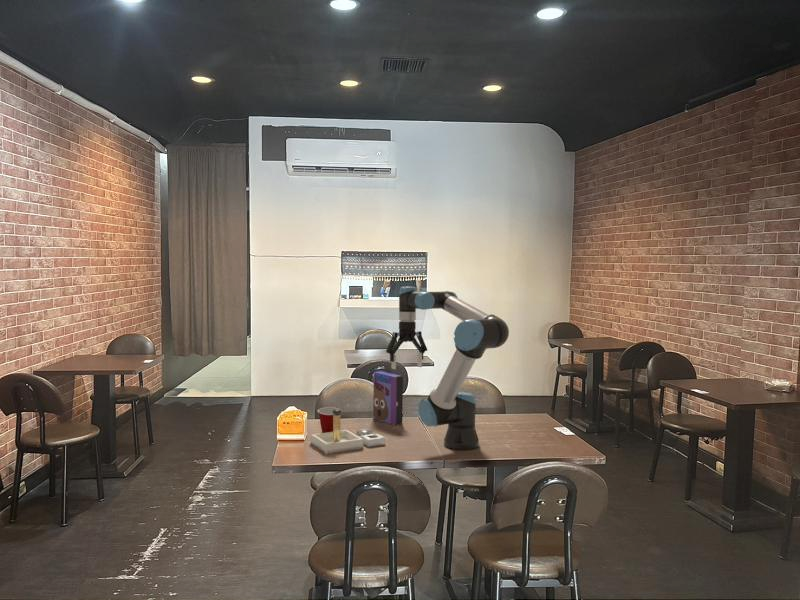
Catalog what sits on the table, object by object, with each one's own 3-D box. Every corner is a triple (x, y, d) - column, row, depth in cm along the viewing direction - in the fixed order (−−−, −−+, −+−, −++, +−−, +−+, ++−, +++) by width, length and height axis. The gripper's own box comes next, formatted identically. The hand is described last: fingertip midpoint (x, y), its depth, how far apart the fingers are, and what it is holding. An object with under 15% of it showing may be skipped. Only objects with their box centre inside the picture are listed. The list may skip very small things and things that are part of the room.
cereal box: (373, 418, 314) (373, 371, 313) (380, 417, 317) (381, 371, 316) (394, 425, 300) (395, 376, 299) (402, 424, 303) (402, 375, 302)
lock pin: (342, 444, 263) (342, 410, 262) (334, 445, 261) (334, 411, 261) (338, 442, 266) (338, 409, 266) (331, 443, 264) (331, 410, 264)
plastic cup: (323, 440, 272) (324, 413, 272) (313, 434, 281) (313, 408, 281) (345, 437, 278) (345, 410, 278) (334, 431, 287) (334, 406, 287)
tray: (363, 448, 261) (363, 439, 260) (326, 453, 252) (326, 444, 252) (346, 438, 275) (346, 429, 275) (310, 443, 267) (311, 434, 267)
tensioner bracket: (385, 444, 267) (385, 436, 267) (368, 446, 263) (368, 438, 263) (368, 435, 281) (368, 428, 281) (352, 437, 277) (352, 430, 277)
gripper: (426, 319, 286) (425, 364, 287) (378, 321, 274) (378, 368, 275) (435, 320, 280) (434, 367, 280) (387, 322, 267) (386, 370, 268)
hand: (406, 367), depth 277 cm, fingers open, 13 cm apart
